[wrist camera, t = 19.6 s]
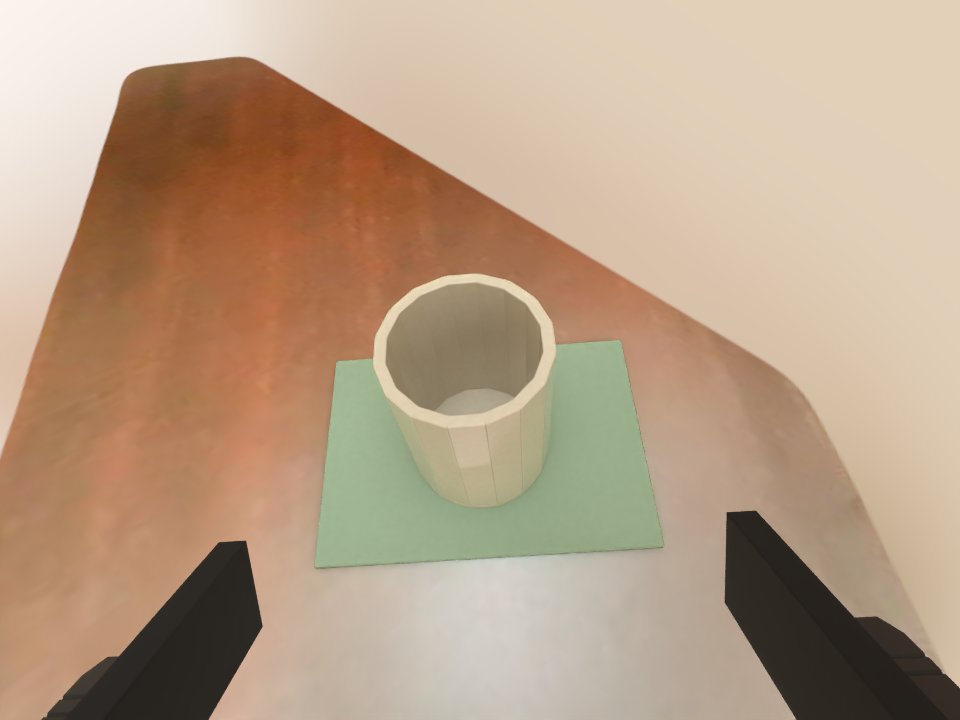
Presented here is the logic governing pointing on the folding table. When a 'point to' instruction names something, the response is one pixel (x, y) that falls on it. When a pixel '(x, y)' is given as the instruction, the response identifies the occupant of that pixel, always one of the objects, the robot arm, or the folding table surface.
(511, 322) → the cup
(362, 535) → the place mat
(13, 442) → the folding table surface
